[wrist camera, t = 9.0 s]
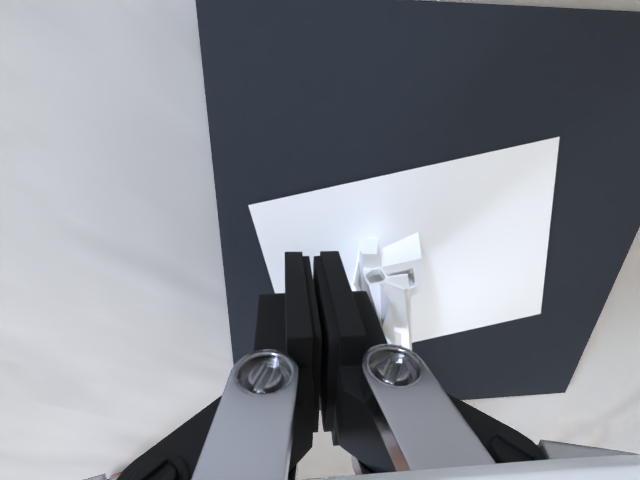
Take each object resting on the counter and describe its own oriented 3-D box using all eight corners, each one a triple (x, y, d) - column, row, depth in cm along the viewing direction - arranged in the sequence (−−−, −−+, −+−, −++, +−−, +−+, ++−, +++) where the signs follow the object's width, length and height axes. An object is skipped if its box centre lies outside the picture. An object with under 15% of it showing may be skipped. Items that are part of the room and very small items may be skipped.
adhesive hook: (339, 239, 12) (358, 291, 9) (415, 222, 12) (457, 269, 9) (353, 310, 13) (373, 375, 10) (420, 295, 13) (459, 356, 10)
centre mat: (195, -11, 9) (194, -12, 9) (729, 17, 10) (734, 16, 10) (239, 413, 15) (239, 416, 15) (563, 390, 17) (565, 393, 17)
